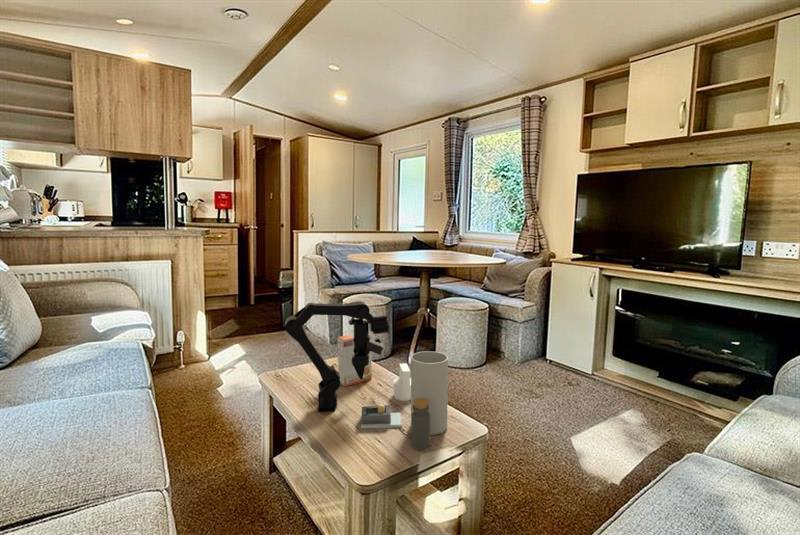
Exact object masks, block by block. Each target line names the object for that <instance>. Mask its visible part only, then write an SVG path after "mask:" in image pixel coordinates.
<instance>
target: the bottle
mask: <svg viewBox="0 0 800 535" xmlns="http://www.w3.org/2000/svg"><path fill="white" fill-rule="evenodd" d="M413 402H414V405H413V410H414V412H412V418H411V417H410V426H411V428H410V431H411V442H410V443H411V447H412V449H413V450H416V451H425V450H426V451H427V450H428V449H430V445H431V444H430V443H431V435H430V414H429V412H427V411H428V410H429V406H428V400H427V399H425V398H416V399H414V400H413Z"/></svg>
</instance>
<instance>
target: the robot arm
mask: <svg viewBox="0 0 800 535" xmlns="http://www.w3.org/2000/svg"><path fill="white" fill-rule="evenodd" d="M313 316H346V317H349V318H350V319H349V320H348V322H347V323H348V324H349V325H350V326H353V334H354V339H353V342H354V350H353V352H354V353H355V354H354V355H353V356H352V365H353V366H354V368H355V370H356V372H357V374H358V377H359V379H363V374H364V369H365V366H367V365H368V364H369V355H368V354H369V353H370V351H371V353H375V354H377V355H378V356H381V355H382V353H383V350H384V348H385V345H384V343H383V342H382V341H381V338H378V337H376V338H375V339H371V340H370V337H369V334H370V333H372V334H373V335H379V334H382V335H383V334H389V333H390V332H389V330H390V326H389V321H388V316H387V315H385V314H384V315H379V316H378V315H377V316H374V315H373V314H372V313H370V308H369V306H368V305H367V304H366V303H365V301H361V300H358V301H351V302H348V303H314V302H309V303H307V304H305V306H304V307H302V308H300V310H298V311H297V312H295V314H294V315H293V314H292V315H289V316H288V317H286V319H285V322H284V326H285V327H284V328H285V329H284V330H285V332H286V333H287V334H288V335H289V336H290V337H291V338H292V339H293V340H295V341H296V342H297V343H298V344H299V345H300V347H301V348H302V349H303V351H304V353H305V354H306V355H307V357H308V358H309V360H310V361H311V362H312V364H313V366H314V367H315V368H316V370H317V371H318V373H319V375H320V378H321V380H320V382H318V384H317V385H318V386H317V387H318V390H319V391H318V393H317V401H318V402H317V403H318V404H317V405H318V406H317V407H318V408H317V412H318V413H321V412H322V413H323V412H324V413H325V412H335V411H336V409H337V408H338V394H336V392H337V390H339V389H340V387H341V382H340V375H339V370H337V369H336V368H335V366H334V364H332V365H331V366H330V365H329V364H328V363H327V362H326V360H325V359H324V358H323V356H322V355H321V354H320V352H319V351H318V349H317V348H316V347H315V345H314V344H313V342H312V340H311V339H310V338H309V336H308V334H307V332H306V329H305V327H304V326H305V325H306V324H307V322H308V321H310V319H311V318H312V317H313ZM369 332H370V333H369Z"/></svg>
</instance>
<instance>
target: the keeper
mask: <svg viewBox="0 0 800 535" xmlns="http://www.w3.org/2000/svg"><path fill="white" fill-rule="evenodd" d="M385 405H386V404H383V403H379V404H377V406H378V413H385ZM390 415H391V423H377V424H362V418H361V422H360V429H386V428H387V429H389V428H390V429H391V428H402V415H401V412H390Z"/></svg>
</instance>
